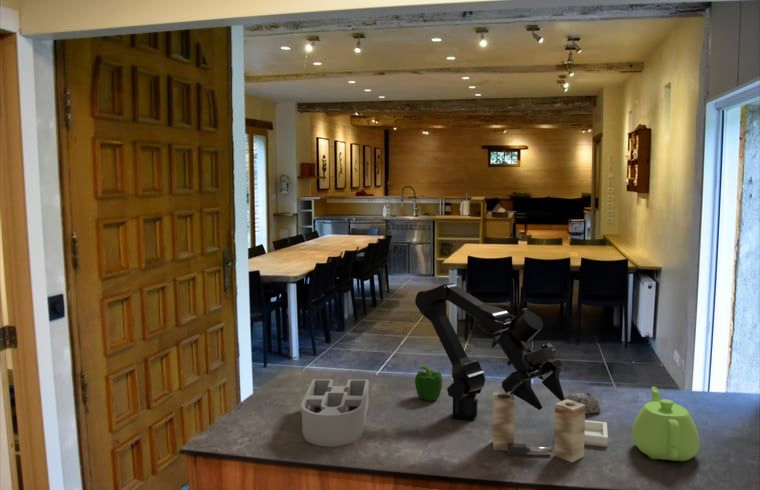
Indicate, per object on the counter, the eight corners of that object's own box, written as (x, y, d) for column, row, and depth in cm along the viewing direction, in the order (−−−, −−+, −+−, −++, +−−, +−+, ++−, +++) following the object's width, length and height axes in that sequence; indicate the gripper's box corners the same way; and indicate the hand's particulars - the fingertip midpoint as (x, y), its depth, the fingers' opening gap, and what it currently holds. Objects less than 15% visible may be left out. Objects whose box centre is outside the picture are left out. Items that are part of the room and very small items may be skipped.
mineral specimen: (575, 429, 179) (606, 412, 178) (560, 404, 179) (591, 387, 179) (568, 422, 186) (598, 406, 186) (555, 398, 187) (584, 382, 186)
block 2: (553, 455, 154) (555, 403, 153) (566, 449, 157) (567, 398, 156) (572, 462, 150) (573, 409, 149) (584, 456, 153) (585, 404, 152)
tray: (557, 441, 162) (558, 431, 162) (559, 426, 172) (559, 417, 171) (607, 446, 158) (607, 437, 158) (606, 431, 168) (606, 422, 168)
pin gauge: (508, 455, 154) (508, 447, 154) (507, 451, 156) (507, 443, 156) (552, 456, 153) (552, 447, 153) (550, 452, 156) (550, 443, 155)
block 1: (493, 449, 157) (493, 399, 156) (492, 441, 162) (493, 392, 161) (513, 450, 157) (514, 400, 155) (512, 442, 162) (513, 393, 160)
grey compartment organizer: (369, 407, 187) (368, 379, 186) (362, 448, 160) (361, 415, 159) (313, 407, 188) (312, 379, 187) (296, 448, 160) (295, 415, 159)
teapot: (622, 430, 168) (624, 383, 167) (683, 434, 166) (685, 386, 164) (640, 468, 147) (642, 414, 145) (710, 473, 144) (713, 418, 143)
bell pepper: (448, 397, 194) (448, 365, 193) (432, 405, 188) (432, 372, 187) (426, 391, 200) (426, 360, 199) (410, 398, 194) (409, 367, 193)
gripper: (511, 340, 153) (549, 396, 145) (557, 328, 164) (594, 379, 157) (486, 365, 159) (521, 420, 152) (531, 351, 171) (566, 401, 164)
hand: (552, 404), depth 156 cm, fingers open, 9 cm apart
